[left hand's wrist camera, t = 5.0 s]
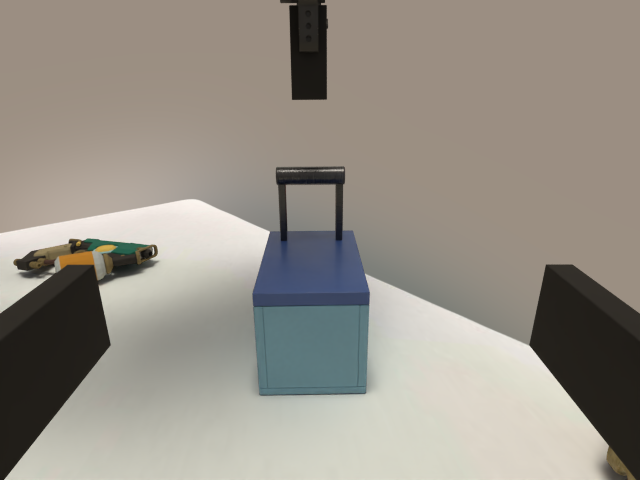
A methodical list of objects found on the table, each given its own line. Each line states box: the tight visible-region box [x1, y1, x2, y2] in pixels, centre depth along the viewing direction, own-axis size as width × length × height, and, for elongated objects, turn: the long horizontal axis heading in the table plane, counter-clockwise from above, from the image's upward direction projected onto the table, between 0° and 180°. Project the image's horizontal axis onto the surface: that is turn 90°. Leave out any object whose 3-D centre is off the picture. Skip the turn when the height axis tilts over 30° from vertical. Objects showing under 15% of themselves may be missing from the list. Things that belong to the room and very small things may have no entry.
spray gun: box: [14, 239, 158, 281], centre depth 62 cm, size 4×17×15 cm
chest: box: [253, 304, 369, 395], centre depth 42 cm, size 14×9×9 cm, turn 1°
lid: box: [252, 166, 370, 306], centre depth 39 cm, size 15×9×9 cm, turn 1°
